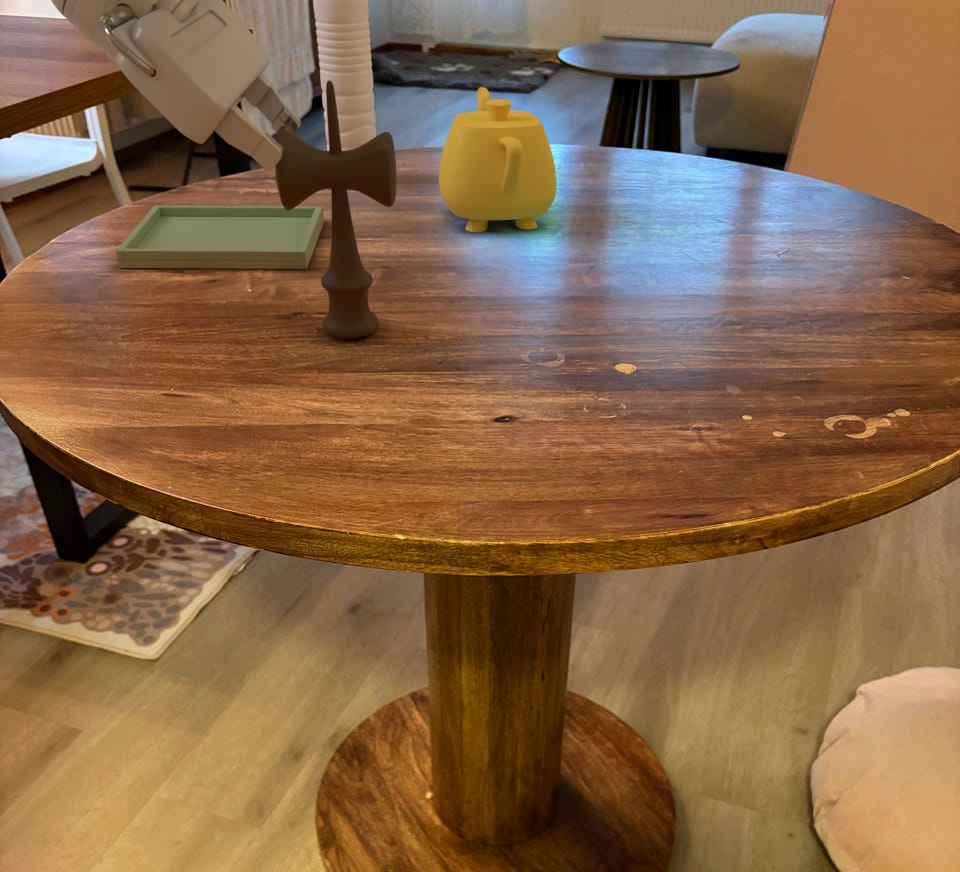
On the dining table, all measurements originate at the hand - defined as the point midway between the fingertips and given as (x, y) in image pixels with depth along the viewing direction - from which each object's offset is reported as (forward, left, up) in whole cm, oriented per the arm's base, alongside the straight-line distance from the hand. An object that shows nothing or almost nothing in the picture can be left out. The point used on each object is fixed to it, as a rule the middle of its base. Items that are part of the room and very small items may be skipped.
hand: (287, 146), depth 74 cm
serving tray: (-12, +24, -15) cm, 31 cm away
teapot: (+18, +34, -16) cm, 41 cm away
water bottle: (0, +48, -16) cm, 51 cm away
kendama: (+4, 0, -16) cm, 16 cm away
